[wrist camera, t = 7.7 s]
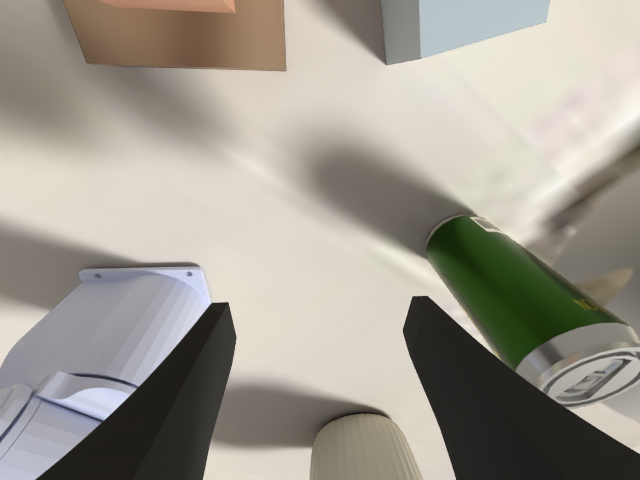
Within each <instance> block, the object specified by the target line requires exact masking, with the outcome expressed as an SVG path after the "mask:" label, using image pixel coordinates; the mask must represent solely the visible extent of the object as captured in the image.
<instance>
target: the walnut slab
mask: <svg viewBox="0 0 640 480" xmlns="http://www.w3.org/2000/svg"><path fill="white" fill-rule="evenodd" d="M63 1H64V4H65V7H66V9H67V12H68V15H69V17H70V20H71V23H72V25H73V28H74V31H75V33H76V36H77V39H78V41H79V44H80V46H81V49H82V52H83V54H84V57H85V60H86V62H87V63H89V64H100V65H111V66H125V67H159V68H193V69H226V70H260V71H286V51H285V25H284V0H234V5H235V13H218V12H199V11H180V10H161V9H142V8H123V7H114V6H111V5H109V4H106V3H104V2H101V1H99V0H63Z"/></svg>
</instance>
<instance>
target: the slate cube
mask: <svg viewBox="0 0 640 480" xmlns="http://www.w3.org/2000/svg"><path fill="white" fill-rule="evenodd" d="M549 3H550V0H381V10H382V21H383V32H384V44H385V55H386V65H391V64H396V63H402V62H407V61H412V60H417V59H422V58H425V57H429V56H432V55H435V54H439V53H442V52H446V51H449V50H452V49H456V48H459V47H463V46H466V45H469V44H473V43H476V42H480V41H483V40H486V39H490V38H493V37H497V36H500V35H503V34H507V33H510V32H514V31H517V30H521V29H524V28H527V27H531V26H534V25H538V24H541V23H544V22H546V20H547V14H548V9H549Z"/></svg>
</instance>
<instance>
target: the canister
mask: <svg viewBox="0 0 640 480" xmlns="http://www.w3.org/2000/svg"><path fill="white" fill-rule="evenodd" d="M310 480H423V478H422V475H421V473H420V470H419V468H418V465H417V463H416V461H415V458H414V456H413V454H412V451H411V449H410V446H409V444H408V442H407V440H406V438H405V436H404V434H403V432H402V431H401V430H400V428H399V427H398V426H397V425H396V424H395V423H394V422H393V421H392V420H390V419H389V418H386V417H384V416H381V415H376V414H355V415H349V416H344V417H341V418H338V419H336V420H333V421H332V422H329V423H328V424H327V425H325V426H324V427H323V428H322V429H321V430H320V431H319V433H318V434H317V436H316V438H315V441H314V444H313V448H312V455H311V467H310Z"/></svg>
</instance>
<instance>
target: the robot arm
mask: <svg viewBox="0 0 640 480" xmlns="http://www.w3.org/2000/svg"><path fill="white" fill-rule="evenodd" d="M189 272H191V273H192V274H191V273H189ZM99 274H100V275H99ZM78 276H79V278H80V280H81V281H82V283H81V284H80V285H79V286H78V287H76V288H75V289H74V290H73V291H72V292H71V293H70V294H69V295H68V296H67V297H66V298H64V299H63V300H62V301H61V302H60V303H59V304H58V305H57V306H56V307H55V308H54V309H52V310H51V311H50V312H49V313H48V314H47V315H46V316H45V317H44V318H43V319H42V320H40V321H39V322H38V323H37V324H36V325H35V326H34V327H33V328H32V329H31V330H29V331H28V332H27V333H26V334H25V335H24V336H23V337H22V338H21V339H20V340H19V341H18V342H17V343H16V344H15V345H14V346H13V348H12V349H11V350H10V352H9V353H8V355H7V356H6V358H5V360H4V361H3V363H2V366H1V368H0V480H203V476H204V471H205V466H206V461H207V456H208V451H209V446H210V442H211V438H212V434H213V430H214V426H215V423H216V419H217V416H218V412H219V409H220V405H221V402H222V398H223V395H224V391H225V388H226V384H227V381H228V377H229V373H230V370H231V366H232V361H233V356H234V350H235V344H236V333H235V329H234V325H233V320H232V316H231V312H230V307H229V303H228V302H223V303H212V301H211V298H210V294H209V291H208V287H207V284H206V280H205V276H204V273H203V270H202V269H201V268H200V267H196V266H192V267H147V268H102V269H82V270H81V271H80V272H79V273H78ZM403 334H404V337H405V341H406V345H407V348H408V351H409V354H410V357H411V360H412V362H413V365H414V367H415V369H416V372H417V374H418V377H419V379H420V381H421V384H422V386H423V388H424V391H425V393H426V395H427V398H428V400H429V403H430V405H431V407H432V410H433V412H434V414H435V417H436V419H437V422H438V425H439V427H440V430H441V433H442V436H443V439H444V442H445V445H446V448H447V451H448V454H449V457H450V460H451V463H452V467H453V470H454V473H455V477H456V480H640V454H639V453H637V452H635V451H634V450H632V449H630V448H629V447H627V446H625V445H624V444H622V443H620V442H618V441H617V440H615V439H613V438H612V437H610V436H609V435H607V434H605V433H604V432H602V431H601V430H599V429H597V428H596V427H594V426H593V425H591V424H589V423H588V422H586V421H585V420H583V419H582V418H580V417H579V416H577V415H576V414H574V413H573V412H571V411H570V410H568V409H567V408H565V407H564V406H562V405H561V404H559V403H558V402H556V401H555V400H553V399H552V398H550V397H549V396H548V395H546V394H545V393H543V392H542V391H541V390H539V389H538V388H536V387H535V386H534V385H532V384H531V383H530V382H528V381H527V380H525V379H524V378H523V377H521V376H520V375H519V374H517V373H516V372H515V371H513V370H512V369H511V368H510V367H508V366H507V365H506V364H505V363H503V362H502V361H501V360H500V359H498V358H497V357H496V356H495V355H493V354H492V353H491V352H490V351H489V350H487V349H486V348H485V347H484V346H483V345H481V344H480V343H479V342H478V341H477V340H476V339H474V338H473V337H472V336H471V335H470V334H469V333H468V332H467V331H465V330H464V329H463V328H462V327H461V326H460V325H459V324H458V323H457V322H455V321H454V320H453V319H452V318H451V317H450V316H449V315H448V314H447V313H446V312H445V311H443V310H442V309H441V308H440V307H439V306H438V305H437V304H436V303H435V302H434V301H433V300H431V299H430V298H429V297H428V296H413V297H412V300H411V304H410V307H409V311H408V314H407V317H406V321H405V324H404V328H403Z"/></svg>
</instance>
